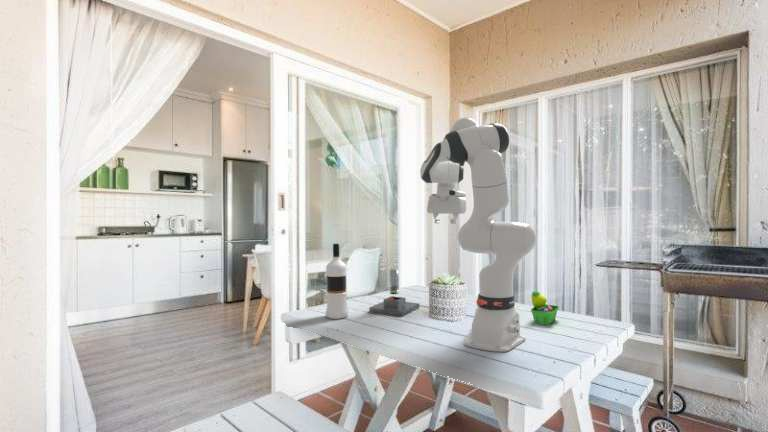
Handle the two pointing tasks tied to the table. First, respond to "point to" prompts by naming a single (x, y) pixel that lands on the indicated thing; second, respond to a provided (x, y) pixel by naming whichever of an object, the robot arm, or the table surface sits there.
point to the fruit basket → (542, 309)
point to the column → (394, 281)
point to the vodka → (336, 287)
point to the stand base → (394, 306)
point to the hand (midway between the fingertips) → (444, 223)
